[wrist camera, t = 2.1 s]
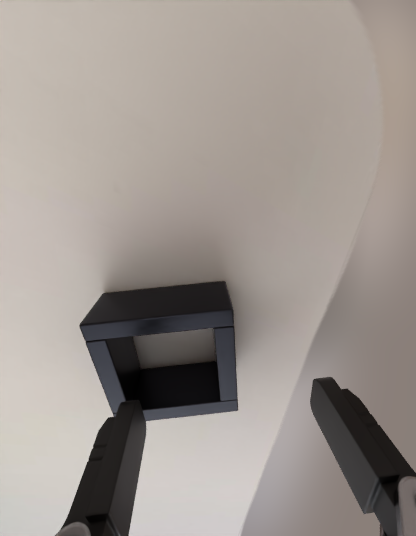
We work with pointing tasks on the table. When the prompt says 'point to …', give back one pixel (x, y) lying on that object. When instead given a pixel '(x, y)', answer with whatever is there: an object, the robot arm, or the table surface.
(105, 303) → the ring
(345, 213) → the table surface
